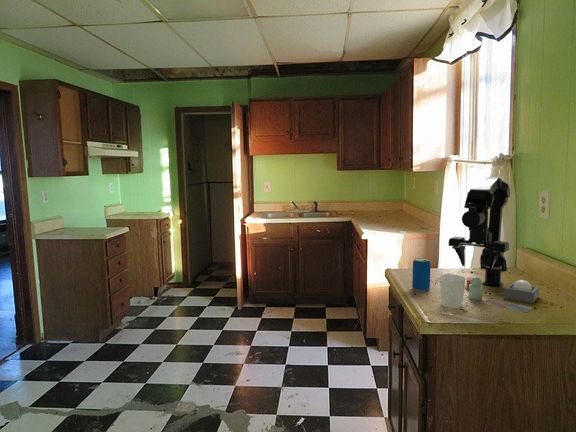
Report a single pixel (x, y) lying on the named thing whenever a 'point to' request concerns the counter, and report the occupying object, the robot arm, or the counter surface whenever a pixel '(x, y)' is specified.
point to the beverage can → (421, 274)
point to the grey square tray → (521, 294)
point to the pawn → (475, 289)
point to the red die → (468, 282)
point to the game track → (502, 304)
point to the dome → (522, 285)
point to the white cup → (452, 290)
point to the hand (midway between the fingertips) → (476, 268)
